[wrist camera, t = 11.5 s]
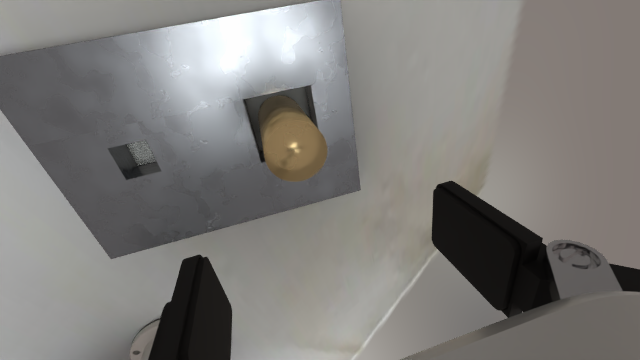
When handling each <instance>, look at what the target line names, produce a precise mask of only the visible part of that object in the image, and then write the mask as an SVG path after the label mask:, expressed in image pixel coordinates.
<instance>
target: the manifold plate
mask: <svg viewBox="0 0 640 360" xmlns="http://www.w3.org/2000/svg"><path fill="white" fill-rule="evenodd" d="M303 86H305V87H306V93H307V98H308V103H309V109H310V114H311V120H312V122H313V123H314V125H315V126H316V127H317V128H318V129H319V131H320V132H321V133H322V135H323V136H324V138H325V140H326V143H327V157H326V161H325V163H324V165H323V166H322V168H321V169H320V170H319V171H318V172H317V173H316V174H315V175H314V176H312V177H311V178H309V179H306V180H303V181H298V182H290V181H285V180H282V179H280V178H278V177H277V176H275V175H274V174H273V173H272V172H271V171H270V169H269V168H268V166H267V164H266V161H265V157H264V151H261V152H260V151H259V147H258V144H257V141H256V137H255V134H254V130H253V127H252V124H251V120H250V117H249V114H248V110H247V107H246V103H245V100H244V99H248V98H252V97H257V96H261V95H266V94H271V93H275V92H280V91H285V90H289V89H294V88H298V87H303ZM0 110H1V111H2V112H3V114H4V115H5V116H6V118H7V119H8V120H9V122H10V123H11V124H12V126H13V127H14V129H15V130H16V131H17V133H18V134H19V135H20V137H21V138H22V139H23V141H24V142H25V143H26V145H27V146H28V147H29V149H30V150H31V151H32V153H33V154H34V156H35V157H36V158H37V160H38V161H39V162H40V164H41V165H42V166H43V168H44V169H45V170H46V172H47V173H48V174H49V176H50V177H51V179H52V180H53V181H54V183H55V184H56V185H57V187H58V188H59V189H60V191H61V192H62V193H63V195H64V196H65V197H66V199H67V200H68V202H69V203H70V204H71V206H72V207H73V208H74V210H75V211H76V212H77V214H78V215H79V216H80V218H81V219H82V220H83V222H84V223H85V225H86V226H87V227H88V229H89V230H90V231H91V233H92V234H93V235H94V237H95V238H96V239H97V241H98V242H99V243H100V245H101V246H102V247H103V249H104V250H105V252H106V253H107V254H108V256H109V257H110V258H111V259H113V258H116V257H120V256H124V255H127V254H131V253H135V252H138V251H142V250H145V249H149V248H153V247H156V246H160V245H163V244H167V243H171V242H174V241H178V240H182V239H185V238H189V237H192V236H196V235H200V234H203V233H207V232H211V231H214V230H218V229H221V228H225V227H229V226H232V225H236V224H240V223H243V222H247V221H250V220H254V219H258V218H261V217H265V216H268V215H272V214H276V213H279V212H283V211H287V210H290V209H294V208H297V207H301V206H305V205H308V204H312V203H316V202H319V201H323V200H326V199H330V198H334V197H337V196H341V195H345V194H348V193H352V192H355V191H359V190H361V189H360V180H359V171H358V161H357V152H356V142H355V133H354V123H353V114H352V104H351V95H350V86H349V76H348V67H347V57H346V48H345V38H344V29H343V19H342V10H341V1H340V0H319V1H314V2H308V3H302V4H296V5H291V6H285V7H279V8H273V9H268V10H262V11H256V12H250V13H245V14H239V15H233V16H228V17H222V18H216V19H210V20H205V21H199V22H193V23H187V24H182V25H176V26H170V27H165V28H159V29H153V30H147V31H142V32H136V33H130V34H124V35H119V36H113V37H107V38H101V39H96V40H90V41H84V42H79V43H73V44H67V45H61V46H56V47H50V48H44V49H38V50H33V51H27V52H21V53H16V54H10V55H4V56H0ZM143 140H146V141H147V143H148V145H149V147H150V149H151V151H152V153H153V155H154V157H155V159H156V161H157V162H154V163H149V164H145V165H141V166H137V164H136V162H135V160H134V158H133V157H132V155H131V153H130V151H129V149H128V148H127V146H126V144H129V143H134V142H138V141H143Z"/></svg>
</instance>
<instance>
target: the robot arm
mask: <svg viewBox="0 0 640 360" xmlns="http://www.w3.org/2000/svg"><path fill="white" fill-rule="evenodd" d="M542 239H543V238H541V237H540V236H538V235H537V234H535V233H533V232H532V231H530V230H529V229H527V228H526V227H524V226H522V225H521V224H519V223H518V222H516V221H515V220H513V219H512V218H510V217H508V216H506V215H505V214H503V213H502V212H501V211H499V210H497V209H496V208H494V207H493V206H491V205H489V204H488V203H486V202H485V201H483V200H482V199H480V198H479V197H477V196H475V195H474V194H472V193H471V192H469V191H468V190H466V189H465V188H463V187H461V186H460V185H458V184H457V183H455V182H453V181H448V182H445V183H441V184H438V185H437V187H436V189H434V192H433V218H432V242H433V244H434V246H435V247H436V248H437V249H438V250H439V251H440V252H441V253H442V254H443V255H444V256H445V257H446V258H447V259H448V260H449V261H450V262H451V263H452V264H453V265H454V266H455V268H457V270H458V271H459V272H460V273H461V274H462V275H463V276H464V277H465V278H466V279H467V280H468V281H469V282H470V283H471V284H472V285H473V286H474V287H475V288H476V289H477V290H478V291H479V292H480V293H481V294H482V295H483V297H484V298H485V299H486V300H487V301H488V302H489V303H490V304H491V305H492V306H493V307H494V308H495V309H497V310H501V311H502V312H503V313H504V314H505V315H506V316H507V317H508V318H507V319H504V320H502V321H500V322H496V323H494V324H491V325H489V326H486V327H483V328H481V329H478V330H475V331H473V332H470V333H468V334H465V335H462V336H460V337H457V338H454V339H452V340H449V341H447V342H444V343H441V344H439V345H437V346H434V347H431V348H429V349H426V350H423V351H421V352H418V353H416V354H413V355H411V356H408V357H405V358H403V359H400V360H640V270H639V269H634V268H629V267H624V266H619V265H614V264H609V263H608V262H607V260H606V258H605V257H604V256H603V255H602V254H601V253H600V252H598V251H597V250H595V249H594V248H592V247H590V246H588V245H585V244H582V243H580V242H575V241H570V240H556V241H552V242H550V243H549V244H548V245H547V246H546V245H545V244H543V243H542ZM522 311H523V313H522ZM231 330H232V308H231V304H230V302H229V300H228V298H227V296H226V294H225V292H224V290H223V288H222V286H221V284H220V282H219V280H218V278H217V275H216V273H215V271H214V269H213V267H212V265H211V263H210V261H209V259H208V258H207V257H204V258H203V257H202V256H201V255H196V256H193V257H190V258H186V259H184V260H183V261H182V264H181V268H180V271H179V275H178V278H177V282H176V286H175V289H174V293H173V296H172V300H171V302H168V303H167V304H166V305H165V307H164V309H163V312H162V315H161V318H160V320H158V321H155V322H153V323H151V324H150V325H148V326H146V327H145V328H144V329H142V330H141V331H140V332H139V333H138V335H137V336H136V337H135V339H134V341H133V343H132V346H131V349H130V353H129V354H130V360H230V355H231Z"/></svg>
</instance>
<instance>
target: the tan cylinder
mask: <svg viewBox="0 0 640 360" xmlns="http://www.w3.org/2000/svg"><path fill="white" fill-rule="evenodd" d="M258 121H259V127H260V133H261V139H262V145H263V151H264V157H265V161H266V164H267V166H268V168H269V169H270V171H271V172H272V173H273V174H274V175H275V176H277V177H278V178H280V179H282V180H285V181H290V182H298V181H303V180H306V179H309V178H311V177H312V176H314V175H315V174H316V173H317V172H318V171H319V170H320V169H321V168H322V166H323V165H324V163H325V161H326V157H327V143H326V140H325V138H324V136H323V135H322V133H321V132H320V131H319V129H318V128H317V127H316V126H315V125H314V123H313V122H312V121H311V120H310V119H309V117H308V116H307V115H306V114H305V112H304V111H303V110H302V109H301V108H300V106H299V105H298V104H297V103H296V102H295V101H294V100H293V99H291V98H289V97H287V96H282V95H277V96H273V97H270V98H269V99H267V100H266V101H265V102H264V103H263V104H262V105H261V107H260V109H259V113H258Z"/></svg>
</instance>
